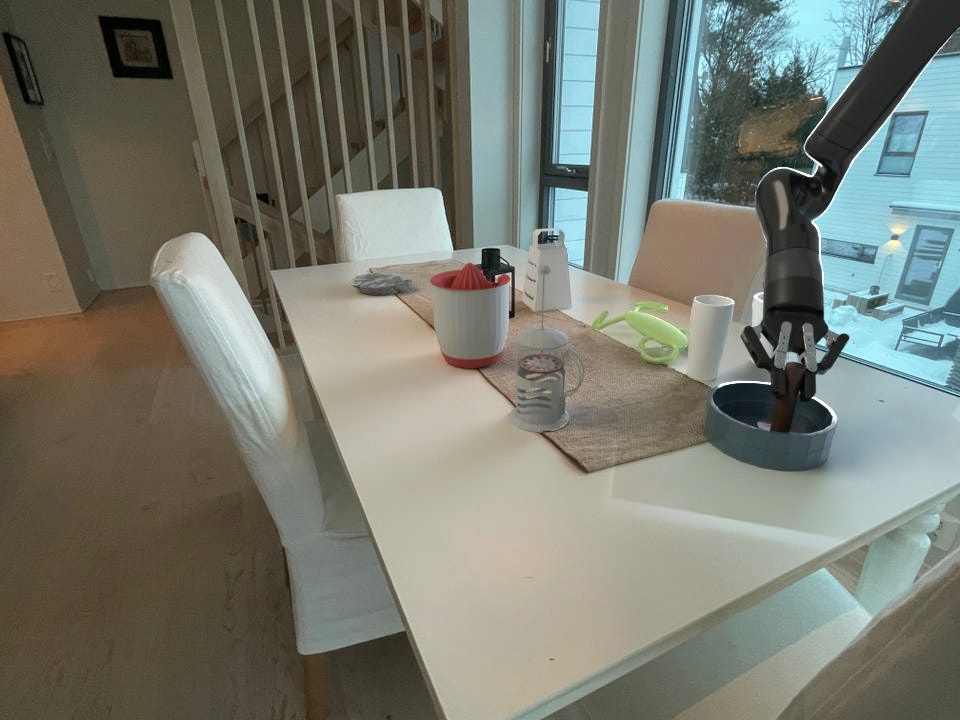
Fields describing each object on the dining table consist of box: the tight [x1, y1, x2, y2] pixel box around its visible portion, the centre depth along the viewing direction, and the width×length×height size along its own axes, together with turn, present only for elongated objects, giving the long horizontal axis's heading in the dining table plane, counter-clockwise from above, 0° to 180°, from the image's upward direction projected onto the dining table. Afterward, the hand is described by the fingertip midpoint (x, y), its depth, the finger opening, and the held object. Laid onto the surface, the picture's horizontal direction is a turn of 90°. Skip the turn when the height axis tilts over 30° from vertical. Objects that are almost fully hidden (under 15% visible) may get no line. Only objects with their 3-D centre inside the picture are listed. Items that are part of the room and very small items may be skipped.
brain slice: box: [349, 271, 413, 296], centre depth 156 cm, size 20×17×3 cm
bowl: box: [702, 380, 838, 472], centre depth 74 cm, size 16×16×6 cm
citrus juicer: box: [429, 262, 511, 370], centre depth 103 cm, size 16×17×20 cm
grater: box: [521, 227, 573, 313], centre depth 136 cm, size 10×10×20 cm
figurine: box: [590, 301, 689, 365], centre depth 113 cm, size 18×27×6 cm
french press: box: [509, 265, 586, 434], centre depth 78 cm, size 10×12×25 cm
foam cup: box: [749, 292, 792, 368], centre depth 99 cm, size 10×9×13 cm
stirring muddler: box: [756, 361, 806, 434], centre depth 72 cm, size 6×6×12 cm
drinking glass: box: [685, 294, 735, 382], centre depth 93 cm, size 7×7×15 cm
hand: (793, 398), depth 69 cm, fingers closed on stirring muddler, 2 cm apart
